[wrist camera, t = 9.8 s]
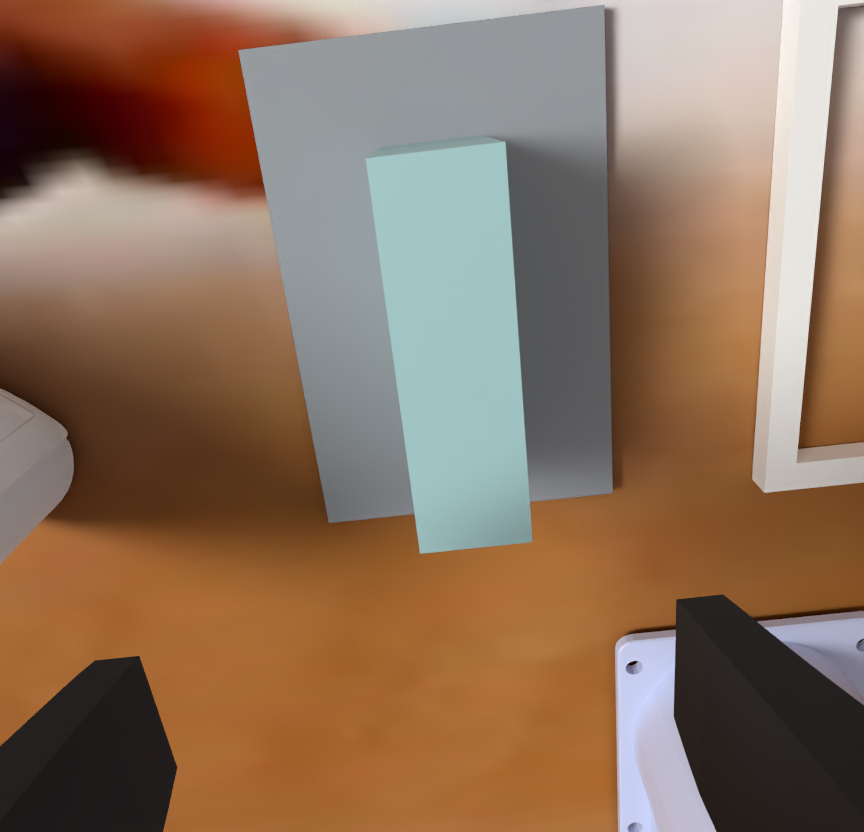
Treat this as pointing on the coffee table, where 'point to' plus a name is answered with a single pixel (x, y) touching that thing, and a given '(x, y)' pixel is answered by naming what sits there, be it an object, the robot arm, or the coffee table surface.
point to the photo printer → (29, 469)
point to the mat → (357, 243)
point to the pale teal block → (454, 337)
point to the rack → (796, 256)
